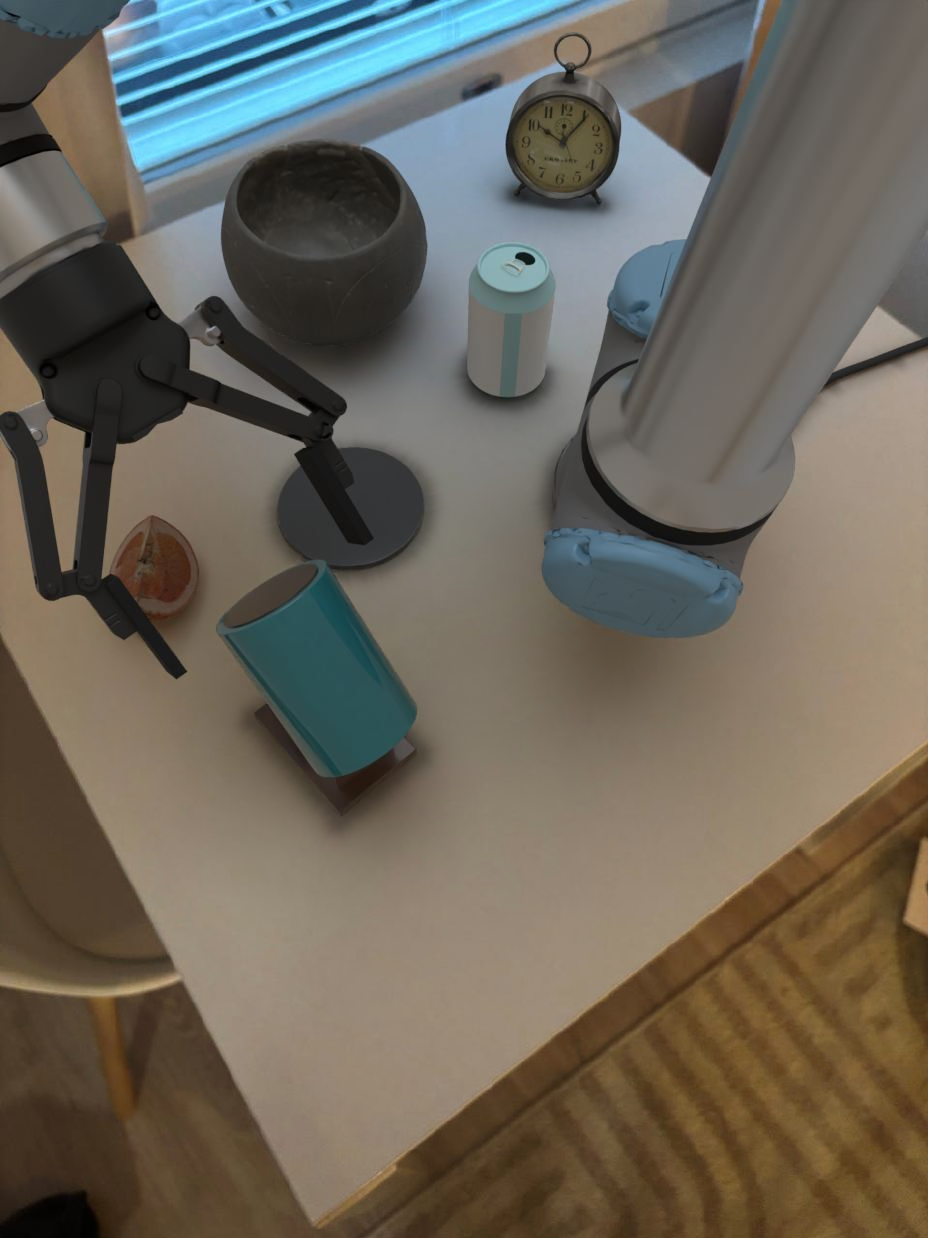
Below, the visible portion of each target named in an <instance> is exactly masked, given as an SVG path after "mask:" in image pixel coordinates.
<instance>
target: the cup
mask: <svg viewBox="0 0 928 1238" xmlns="http://www.w3.org/2000/svg"><path fill="white" fill-rule="evenodd" d="M215 631H216V634H217V635H218V637H219V638H220V639H221V641H222V642H223V644H224V645H225V646H226V648H227V650H228V651H229V652H230V653H231V655H232V656H233V658H234V659H235V660H236V663H238V665H239V666H240V668H241V669H242V671H243V672H244V673H245V675H246V676H247V678H248V680H249V681H250V682H251V683H252V685H253V686H254V687H255V689H256V691H257V692H258V693H259V695H260V696H261V697H262V699H263V700H264V701H265V704H266V703H267V704H268V706H269V707H270V709H271V710H272V711H273V713H274V714H275V716H276V717H277V719H278V720H279V721H280V723H281V724H282V726H283V727H284V728H285V730H286V731H287V733H288V734H289V736H290V737H291V738H292V740H293V741H294V743H295V744H296V745H297V747H298V748H299V750H300V751H301V753H302V754H303V755H304V757H305V758H306V760H307V761H308V762H309V764H310V765H311V767H312V768H313V769H314V771H315V772H316V773H317V774H319V775H320V776H323V777H338V776H343V775H347V774H350V773H352V772H355V771H357V770H360V769H362V768H364V767H366V766H368V765H369V764H371V763H373V762H374V761H376V760H378V759H379V758H380V757H382V756H383V755H385V754H386V753H387V752H389V751H390V750H391V749H392V748H393V747H394V746H396V745H397V744H398V743H399V742H400V741H401V740H402V738H403V737H404V736H405V737H406V735H407V734H408V733H409V731H410V730H411V729H412V727H413V725H414V723H415V721H416V720H417V715H418V706H417V703H416V701H415V700H414V698H413V696H412V695H411V693H410V692H409V690H408V688H407V687H406V685H405V684H404V683H403V680H402V679H401V677H400V675H398V673H397V671H396V669H395V667H394V666H393V665H392V663H391V662H390V660H389V658H388V657H387V655H386V654H385V652H384V651H383V650H382V647H381V646H380V644H379V643H378V641H377V639H376V638H375V636H374V635H373V634H372V632H371V629H370V628H369V627H368V626H367V624H366V622H365V620H364V619H363V617H362V616H361V614H360V613H359V611H358V610H357V608H356V606H355V605H354V603H353V601H352V600H351V598H350V596H349V595H348V594H347V592H346V590H345V589H344V587H343V586H342V584H341V583H340V581H339V579H338V578H337V576H336V575H335V573H334V572H333V570H332V568H330V567H329V565H328V564H327V562H326V561H324V560H320V559H318V560H311V561H309V560H307V561H303V562H301V563H299V564H296V565H293V566H291V567H289V568H286V569H285V570H283V571H281V572H279V573H277V574H275V575H273V576H272V577H270V578H268V579H267V580H264V581H263V582H262V583H260V584H258V586H255V587H254V588H253V589H251V590H250V591H249V592H247V593H246V594H245V595H243V596H242V597H241V598H240V599H239V600H237V601H236V602H235V603H234V604H233V605H232V606H230V607H229V609H228V610H227V611H226V612H224V613H223V615H222V616H221V617H220V619H219V621H218V622H217V624H216V626H215Z"/></svg>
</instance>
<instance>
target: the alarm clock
mask: <svg viewBox="0 0 928 1238" xmlns="http://www.w3.org/2000/svg"><path fill="white" fill-rule="evenodd" d="M571 37H577V38H580V39H581V40H582V41H584V43H585V44H586V46H587V56H586V57H585V59H584V61H582V62H581V63H579V64H578V65H576V64H575V63H574V62H572V61H568V62H567V63H564V62H563V61H561V60H560V58H559V56H558V48H559V45H560V44H561V42H563V40H565V39H566V38H571ZM553 55H554V59H555V61H557V63H558V64H559V65H560V66H561V67H562V68H564V70H565V71H556V72H552V73H551V72H550V73H548V74H545V75H542V76H541V77H539V78H537V79H536V80H534V81H533V82H531V83H530V84H528V86H526V88H525V89H524V90H523V91H522V92H521V94H520V95H518V98H517V100H516V102H515V103H514V105H513V108H512V111H511V114H510V118H509V123H508V127H507V131H506V135H505V145H504V146H505V147H504V148H505V155H506V159H507V163H508V165H509V168H510V169H511V171H512V173H513V175H514V177H515V178H516V179H517V181H519V183H520V184H519V185H518V187H517V188H516V189H514V190H513V195H514V196H515V197H519V196H520V194H521V192H522V191H524V190H525V189H527V190H528V191H530V192H532V193H533V194H535V195H537V196H539V197H541V198H544V199H549V200H553V201H572V200H577V199H581V198H584V197H586V196H588V195H590V196H591V197H592V198H593V199H594V200H595V204H596V205H597V206H601V205H602V203H603V200H602V198H601V197H600V196H599V193H598V191H597V190H598V189H600V187H602V186H603V185H604V184H605V183H606V182H607V181H608V179H609V178H610V177H611V176H612V173H613V172H614V170H615V168H616V165H617V162H618V160H619V154H620V144H621V137H622V118H621V113H620V109H619V106H618V104H617V102H616V100H615V98H614V97H613V95H612V94H611V93H610V91H609V90H608V89H607V88H606V87H605V86H604V85H603V84H602V83H601V82H600V81H598V80H596V78H593V77H591V76H589V75H587V74H583V73H580V72H576V70H578V69H581V68H583V67H584V66H586V64H587V63H588V62H589V60H590V58H591V55H592V44H591V42H590V40H589V39H588V37H586V36H585V35H584V34H583V33H580V32H576V31H571V32H566V33H564V34H562V35H561V36H560V37H559V38H558V39H557V40H556V41H555V43H554V46H553Z"/></svg>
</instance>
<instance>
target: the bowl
mask: <svg viewBox="0 0 928 1238" xmlns="http://www.w3.org/2000/svg"><path fill="white" fill-rule="evenodd" d="M220 246H221V254H222V258H223V259H222V260H223V263H224V267H225V270H226V273H227V276H228V278H229V281H230V284H231V287H233V289H234V292H235V293H236V295H237V297H238V298H239V299H240V300H241V302H242V304H243V305H244V306H245V308H246V309H247V310H248V311H249V312H250V313H251V314H252V315H253V316H254V317H255V318H256V319H257V320H258V321H260V322H261V323H262V324H264V325H265V326H266V327H268V328H269V329H271V330H272V331H273V332H276V333H277V334H278V335H281V336H283V337H285V338H287V339H290V340H293V341H295V342H298V343H302V344H306V345H311V346H318V347H338V346H345V345H351V344H354V343H359V342H361V341H363V340H366V339H368V338H371V337H373V336H374V335H376V334H379V333H380V332H381V331H383V330H384V329H386V328H387V327H389V326H390V325H391V324H392V323H394V322H395V320H397V318H399V316H400V315H401V314H402V313H403V312H404V311H405V310H406V309H407V307H408V306H409V305H410V304H411V303H412V301H413V299H414V297H415V295H416V294H417V292H418V290H419V289H420V286H421V283H422V280H423V277H424V273H425V270H426V263H427V256H428V239H427V228H426V222H425V219H424V215H423V213H422V210H421V207H420V205H419V202H418V200H417V198H416V196H415V194H414V192H413V190H412V188H411V187H410V186H409V184H408V182H407V181H406V179H405V178H404V176H403V175H402V174H401V172H400V171H399V170H398V169H397V167H396V166H395V165H394V163H392V162H391V161H390V160H389V159H388V158H387V157H386V156H384V155H382V154H381V153H379V152H378V151H376V150H373V148H370V147H367V146H365V145H364V146H361V145H360V144H359V143H355V142H350V141H345V140H338V139H334V138H316V139H308V140H299V141H295V142H291V143H289V144H286V145H284V144H281V145H278V146H273V147H270V148H267V149H266V150H264V151H261V152H260V153H259V154H258V155H256V156H254V157H252V158H251V159H249V160H247V162H246V163H245V164H244V165H243V166H242V167H241V169H240V170H239V171H238V172H237V174H236V175H235V177H234V178H233V180H232V182H231V184H230V187H229V189H228V191H227V194H226V197H225V201H224V206H223V212H222V218H221V226H220Z"/></svg>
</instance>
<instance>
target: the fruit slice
mask: <svg viewBox="0 0 928 1238" xmlns="http://www.w3.org/2000/svg"><path fill="white" fill-rule="evenodd" d="M119 545H120V546H119V547H118V548H117V551H116V553H115V555H114V558H113V560H112V563H111V566H110V569H109V573H108V575H109V574H110V573H111V574H113V575H115V576H117V577H119V579H120V580H121V581H122V583H123V584H124V585H125V587H126V588H127V590H128V591H129V592H130V594H131V595H132V596H133V598H134V599H135V600H136V602H137V603H138V605H139V606H140V607H141V609H142V610H143V611H144V613H145V614H146V616H147V617H148V618H149V620H150V621H164V620H167V619H170V618H171V617H173V616H175V615H176V614H178V613H180V612H181V611H182V610H183V609H185V608H186V607H187V606H188V605H189V603H190V602H191V601H192V599H193V598H194V596H195V594H196V592H197V589H198V586H199V583H200V582H199V581H200V567H199V562H198V559H197V556H196V553H195V551H194V549H193V547H192V546H191V545H192V544H190V541H189V540H188V539H187V538H186V536H185V535H184V534H183V533H182V532H181V531H180V530H179V529H177V528H176V527H175V526H174V525H172V524H171V523H170V522H169V521H167V520H165V519H164V518H161V517H159V516H157V515H154V514H151V515H149V516H147V517H145V519H143V520H141V521H140V522H138V523H137V524H136V525H135V526H133V528H132V529H131V530H130V532H128V534H126V536H125V538H124V539H123V540H122V542H121V544H119Z"/></svg>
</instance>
